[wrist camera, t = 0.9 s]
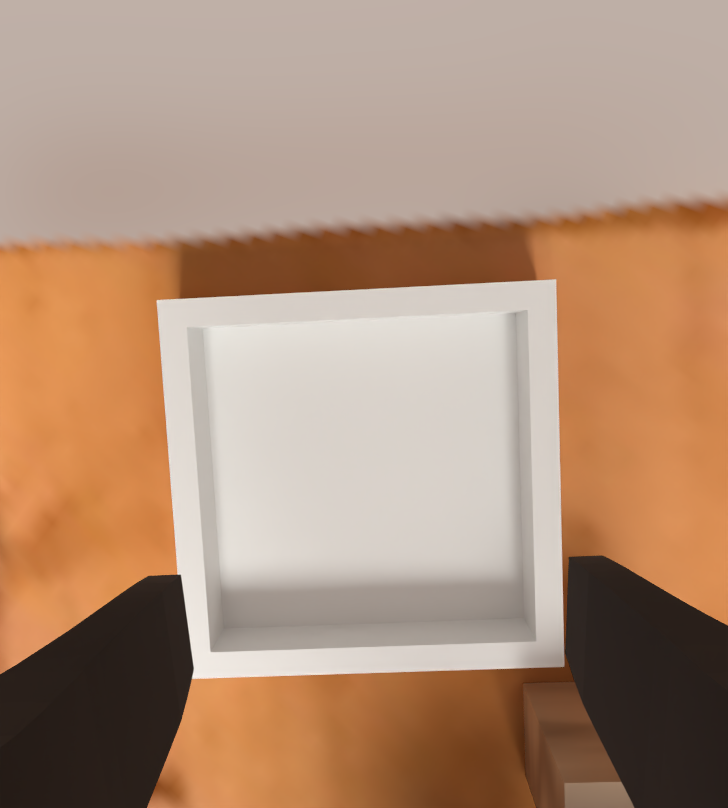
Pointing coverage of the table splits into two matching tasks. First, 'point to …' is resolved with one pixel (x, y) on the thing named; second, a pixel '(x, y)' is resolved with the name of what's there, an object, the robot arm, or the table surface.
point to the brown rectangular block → (566, 752)
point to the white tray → (367, 478)
